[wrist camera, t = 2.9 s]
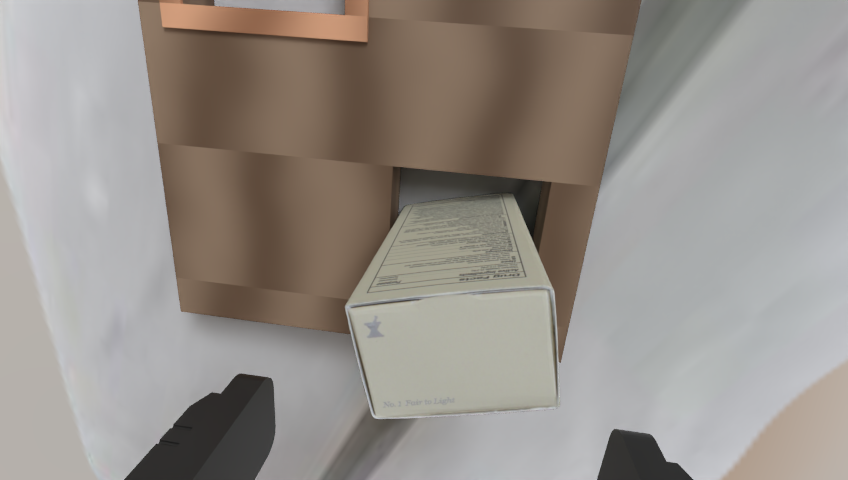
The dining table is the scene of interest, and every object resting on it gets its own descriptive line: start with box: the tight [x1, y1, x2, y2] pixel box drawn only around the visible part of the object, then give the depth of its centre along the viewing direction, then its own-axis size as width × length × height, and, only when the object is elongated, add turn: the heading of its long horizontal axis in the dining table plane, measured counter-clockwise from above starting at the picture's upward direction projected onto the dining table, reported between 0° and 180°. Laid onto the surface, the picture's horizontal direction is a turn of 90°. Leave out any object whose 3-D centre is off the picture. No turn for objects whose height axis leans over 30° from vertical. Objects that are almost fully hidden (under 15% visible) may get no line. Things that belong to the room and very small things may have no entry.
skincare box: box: [345, 193, 560, 419], centre depth 18 cm, size 6×4×12 cm
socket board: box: [138, 0, 641, 363], centre depth 21 cm, size 22×26×3 cm
